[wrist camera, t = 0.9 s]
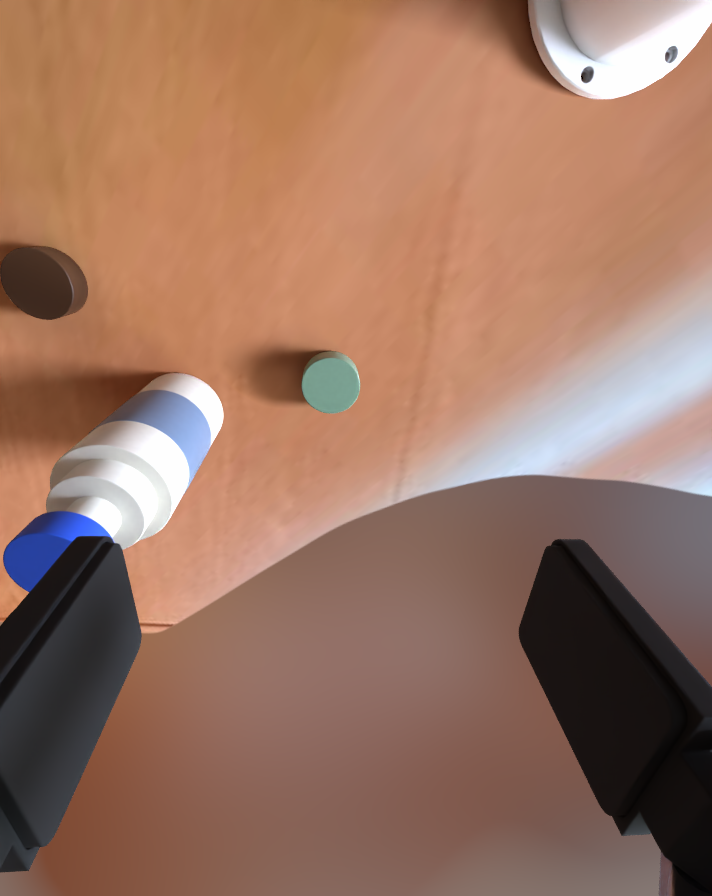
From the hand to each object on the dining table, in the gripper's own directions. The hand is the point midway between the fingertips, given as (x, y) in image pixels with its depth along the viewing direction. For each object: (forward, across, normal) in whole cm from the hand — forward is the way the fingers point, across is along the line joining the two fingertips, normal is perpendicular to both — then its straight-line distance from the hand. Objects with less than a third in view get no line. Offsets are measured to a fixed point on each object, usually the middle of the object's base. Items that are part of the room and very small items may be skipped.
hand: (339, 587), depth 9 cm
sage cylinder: (+30, 0, +4) cm, 30 cm away
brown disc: (+30, +22, -3) cm, 37 cm away
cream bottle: (+30, +13, +8) cm, 34 cm away
